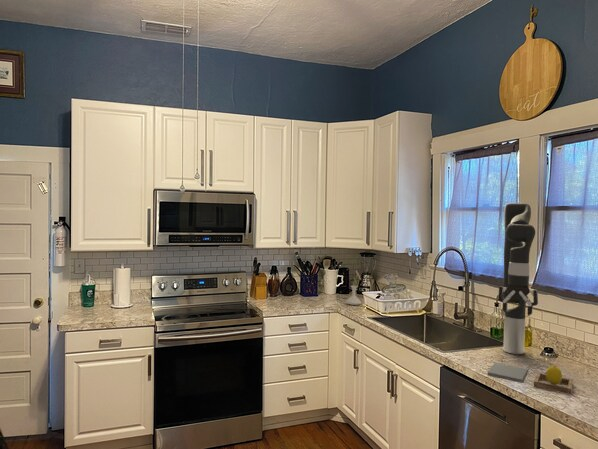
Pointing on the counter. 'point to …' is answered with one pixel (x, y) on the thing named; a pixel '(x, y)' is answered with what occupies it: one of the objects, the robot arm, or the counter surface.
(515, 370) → the grey rectangular plate
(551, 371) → the lemon
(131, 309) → the counter surface
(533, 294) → the robot arm
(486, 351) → the counter surface
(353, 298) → the flower in vase
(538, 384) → the walnut collar
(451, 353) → the counter surface
